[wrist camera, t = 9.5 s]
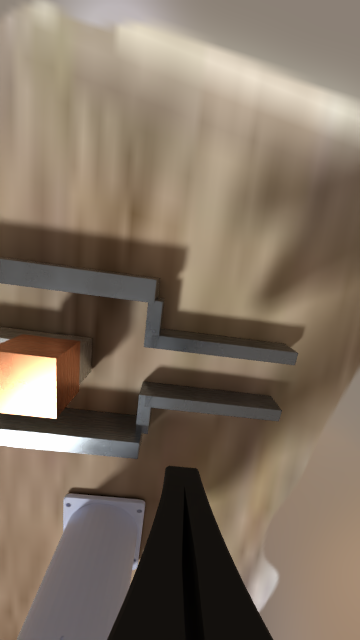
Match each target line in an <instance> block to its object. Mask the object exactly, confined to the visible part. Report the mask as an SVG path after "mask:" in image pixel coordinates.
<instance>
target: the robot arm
mask: <svg viewBox="0 0 360 640" xmlns="http://www.w3.org/2000/svg"><path fill="white" fill-rule="evenodd" d="M144 510H145V502H144V501H143V500H139V499H128V498H117V497H106V496H94V495H83V494H72V493H69V494H67V495H66V496H65V498H64V512H63V535H62V537H61V539H60V541H59V544H58V546H57V548H56V551H55V553H54V555H53V557H52V560H51V562H50V564H49V567H48V569H47V571H46V573H45V576H44V578H43V580H42V583H41V585H40V587H39V590H38V592H37V594H36V596H35V599H34V601H33V603H32V606H31V608H30V610H29V612H28V615H27V617H26V619H25V622H24V624H23V626H22V628H21V631H20V633H19V635H18V638H17V640H273V638H272V637H271V635H270V633H269V631H268V629H267V627H266V626H265V624H264V622H263V620H262V618H261V616H260V614H259V612H258V611H257V609H256V607H255V605H254V603H253V601H252V599H251V597H250V595H249V593H248V591H247V589H246V587H245V585H244V583H243V581H242V579H241V577H240V575H239V573H238V570H237V568H236V566H235V564H234V562H233V560H232V557H231V555H230V553H229V551H228V549H227V546H226V544H225V542H224V539H223V537H222V535H221V532H220V530H219V527H218V525H217V523H216V520H215V518H214V515H213V513H212V510H211V507H210V505H209V502H208V499H207V496H206V494H205V491H204V488H203V485H202V481H201V478H200V475H199V471H198V470H197V469H196V468H185V467H175V466H168V467H166V470H165V477H164V484H163V491H162V495H161V499H160V502H159V506H158V509H157V512H156V516H155V519H154V522H153V526H152V529H151V531H150V534H149V537H148V540H147V543H146V546H145V548H144V551H143V554H142V557H141V559H140V562H139V565H138V558H139V550H140V542H141V534H142V526H143V518H144ZM137 566H138V567H137ZM136 568H137V570H136V572H135V575H134V577H133V580H132V582H131V585H130V580H131V574H132V570H134V569H136Z"/></svg>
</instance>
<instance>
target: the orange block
mask: <svg viewBox="0 0 360 640" xmlns="http://www.w3.org/2000/svg"><path fill="white" fill-rule="evenodd" d="M91 361H92V338H88V337H80V336H72V335H63V334H55V333H47V332H39V331H30V330H22V329H14V328H6V327H0V413H7V414H17V415H26V416H36V417H46V418H55V419H56V418H57V417H58V416H59V415H60V414H61V412H62V411H63V410H64V409H65V407H66V406H67V405H68V404H69V403H70V401H71V400H72V399H73V398H74V397H75V395H76V394H77V393H78V392H79V385H80V384H81V382H82V381H83V380H84V379H85V378H86V377H87V375H88V374H89V373H90V372H91Z"/></svg>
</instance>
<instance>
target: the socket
mask: <svg viewBox="0 0 360 640" xmlns="http://www.w3.org/2000/svg"><path fill="white" fill-rule="evenodd" d="M0 283H3V284H11V285H19V286H26V287H34V288H42V289H49V290H57V291H65V292H72V293H80V294H88V295H95V296H103V297H111V298H118V299H126V300H134V301H141V302H148V310H147V320H146V330H145V340H144V347H148V348H157V349H165V350H173V351H181V352H190V353H198V354H206V355H214V356H223V357H231V358H239V359H247V360H256V361H264V362H272V363H281V364H289V365H295V363H296V359H297V355H298V353H297V352H296V351H294V350H293V349H292V348H290V347H289V346H287V345H286V344H282V343H274V342H266V341H258V340H250V339H242V338H234V337H226V336H218V335H210V334H202V333H194V332H186V331H178V330H170V329H162V328H161V324H162V315H163V307H164V298H158V295H159V286H160V278H153V277H146V276H139V275H131V274H124V273H117V272H109V271H102V270H95V269H87V268H80V267H72V266H65V265H58V264H50V263H43V262H36V261H28V260H21V259H13V258H6V257H0ZM152 408H161V409H170V410H179V411H188V412H197V413H207V414H216V415H225V416H234V417H243V418H253V419H262V420H271V421H279V419H280V416H281V412H282V410H281V409H280V408H279V406H278V405H277V404H276V402H275V401H274V400H273V398H272V397H271V396H266V395H257V394H248V393H239V392H230V391H222V390H213V389H204V388H195V387H186V386H178V385H169V384H160V383H151V382H143V384H142V387H141V390H140V394H139V401H138V411H137V416H135V415H126V414H116V413H107V412H98V411H88V410H79V409H70V408H65V409H64V410H63V411H62V412H61V414H60V415H59V416H58V417H57V418H56V419H55V418H46V417H36V416H26V415H17V414H7V413H0V446H10V447H21V448H31V449H41V450H51V451H62V452H72V453H82V454H92V455H103V456H113V457H123V458H133V459H138V454H139V450H140V445H141V440H142V436H143V433H144V434H148V428H149V423H150V417H151V409H152Z"/></svg>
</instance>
